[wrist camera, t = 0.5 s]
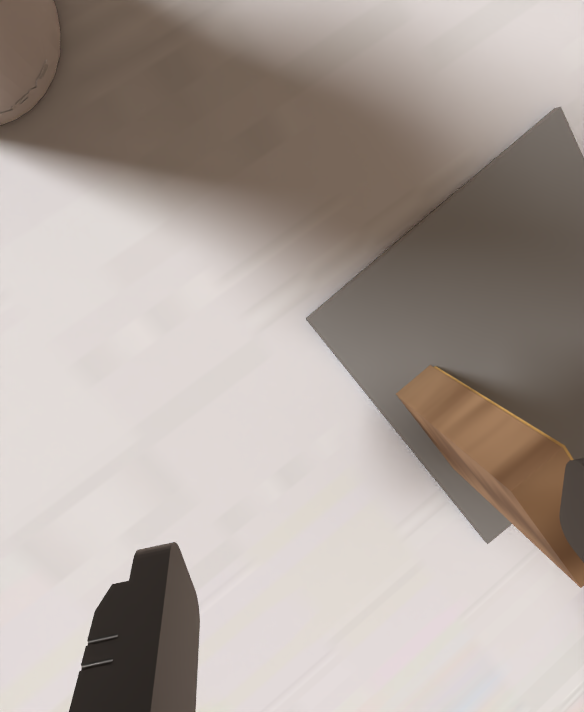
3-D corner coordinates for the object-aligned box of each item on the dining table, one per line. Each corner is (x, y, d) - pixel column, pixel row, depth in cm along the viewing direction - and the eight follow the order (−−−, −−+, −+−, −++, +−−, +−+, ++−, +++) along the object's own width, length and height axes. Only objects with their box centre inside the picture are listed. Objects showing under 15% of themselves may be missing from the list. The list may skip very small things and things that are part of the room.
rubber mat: (305, 318, 31) (307, 320, 30) (554, 108, 30) (560, 106, 30) (483, 540, 39) (487, 544, 39) (677, 378, 39) (683, 380, 39)
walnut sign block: (395, 393, 33) (511, 491, 22) (432, 363, 33) (566, 444, 22) (453, 468, 36) (580, 587, 25) (487, 440, 36) (629, 547, 25)
